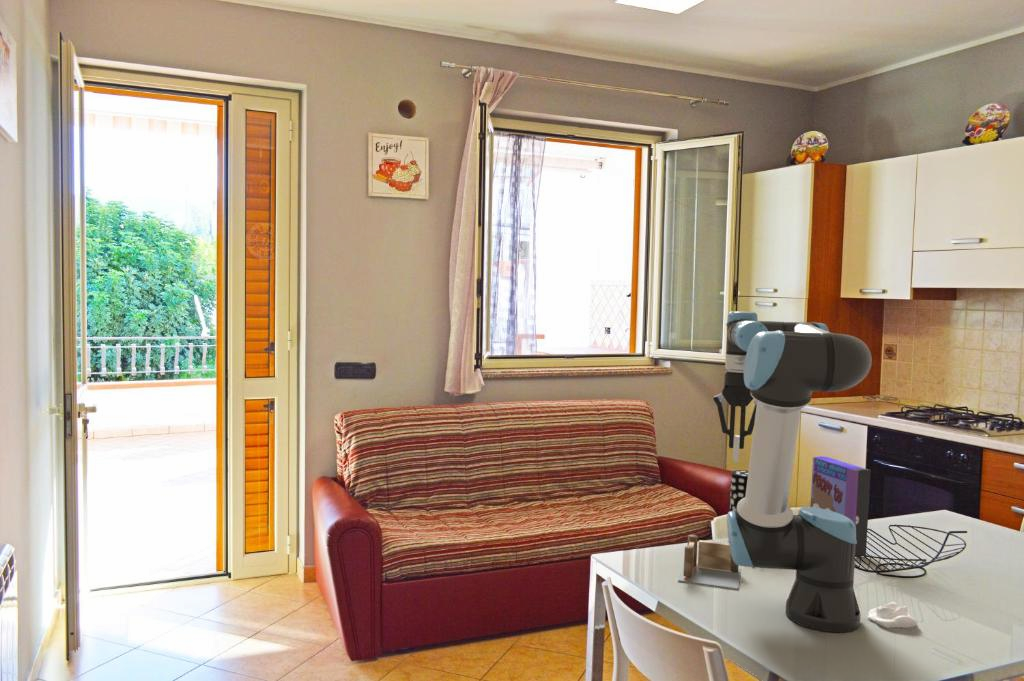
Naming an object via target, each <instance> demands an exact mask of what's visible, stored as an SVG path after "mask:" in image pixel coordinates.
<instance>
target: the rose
mask: <svg viewBox="0 0 1024 681" xmlns="http://www.w3.org/2000/svg"><path fill="white" fill-rule="evenodd" d="M867 615H868V616H867V619H868V620H869V621H871V622H874V623H876V624H878V625H879V626H881V627H883V628H885V627H886V628H887V629H891V628H890V627H903V628H913V627H914V628H915V627H916V625H917V624H918V623H917V620H915V619H914V618H913V617H912V615H911V614H910V612H908V609H907V606H906V605H903V606H902V605H901V604H898V603H897V602H895V601H891V602H889V603H886V604H882V605H880V606H877V607H874V608H871V609H870V610H868V613H867Z"/></svg>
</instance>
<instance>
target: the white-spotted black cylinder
mask: <svg viewBox="0 0 1024 681" xmlns="http://www.w3.org/2000/svg"><path fill="white" fill-rule="evenodd" d="M748 471H749V470H744V469H742V470H741V469H738V470H732V471H731V478H730V479H731V480H730V498H729V499H730V501H729V503H730V504H729V512H730V511H736V509H737V504H738V502H739V501H740V500H741V499H743V498H745V496H746V488H747V480H748ZM728 543H729V540H728Z"/></svg>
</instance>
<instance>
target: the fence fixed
mask: <svg viewBox="0 0 1024 681" xmlns="http://www.w3.org/2000/svg"><path fill="white" fill-rule="evenodd" d="M698 539H699V537H698V535H696V534H688V535H687V546H688V545H689V542H695V543H694V565H693V567H695V566H696V564H698V567H704V568H712V569H719V570H727V571H732V572H738V569H740V568H739V565H737V564H735V563H734V561H733V559H732V556H731V552H730V547H729V543H725V542H719V541H718V542H717V541H716V542H715V541H709V540H701V539H699V540H698Z"/></svg>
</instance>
